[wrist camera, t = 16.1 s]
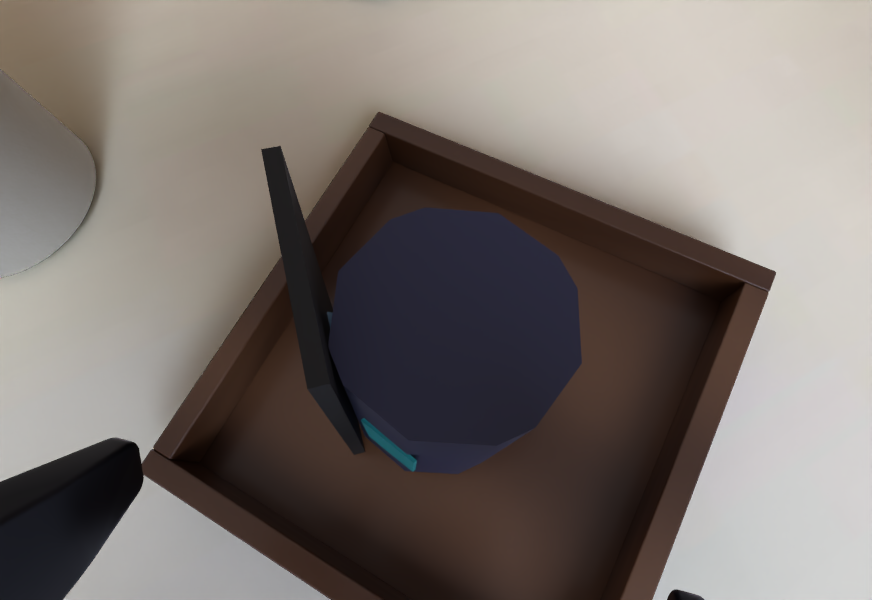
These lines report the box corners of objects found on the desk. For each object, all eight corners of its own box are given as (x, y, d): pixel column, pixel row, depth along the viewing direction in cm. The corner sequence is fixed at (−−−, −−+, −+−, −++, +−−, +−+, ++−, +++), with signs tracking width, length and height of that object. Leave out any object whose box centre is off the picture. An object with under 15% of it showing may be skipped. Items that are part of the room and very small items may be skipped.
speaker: (298, 469, 19) (168, 415, 9) (325, 315, 21) (243, 142, 11) (516, 490, 19) (612, 456, 9) (520, 332, 21) (603, 172, 11)
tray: (572, 731, 16) (587, 772, 14) (178, 473, 20) (135, 470, 18) (742, 298, 20) (777, 271, 18) (389, 149, 24) (378, 110, 22)
